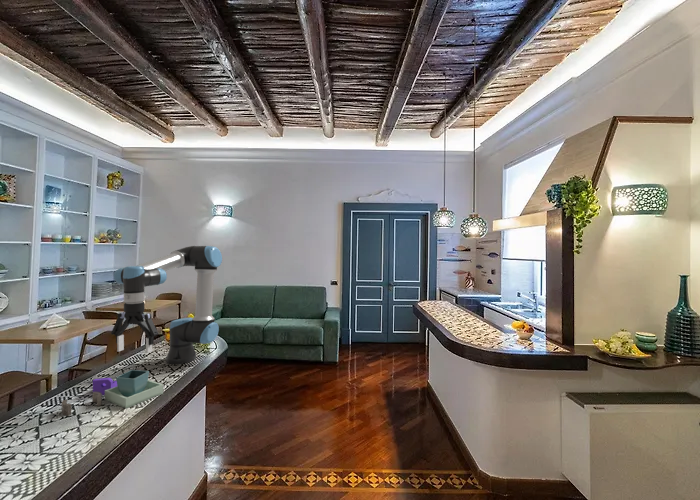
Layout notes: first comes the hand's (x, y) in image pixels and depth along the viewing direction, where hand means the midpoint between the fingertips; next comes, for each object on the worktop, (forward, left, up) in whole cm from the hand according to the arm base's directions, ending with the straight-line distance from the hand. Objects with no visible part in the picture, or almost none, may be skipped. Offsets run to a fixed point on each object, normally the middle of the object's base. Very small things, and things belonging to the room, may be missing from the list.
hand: (134, 351), depth 146 cm
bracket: (+5, -18, -20) cm, 27 cm away
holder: (+17, -5, -20) cm, 27 cm away
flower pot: (+1, -1, -19) cm, 19 cm away
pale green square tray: (0, 0, -20) cm, 20 cm away
